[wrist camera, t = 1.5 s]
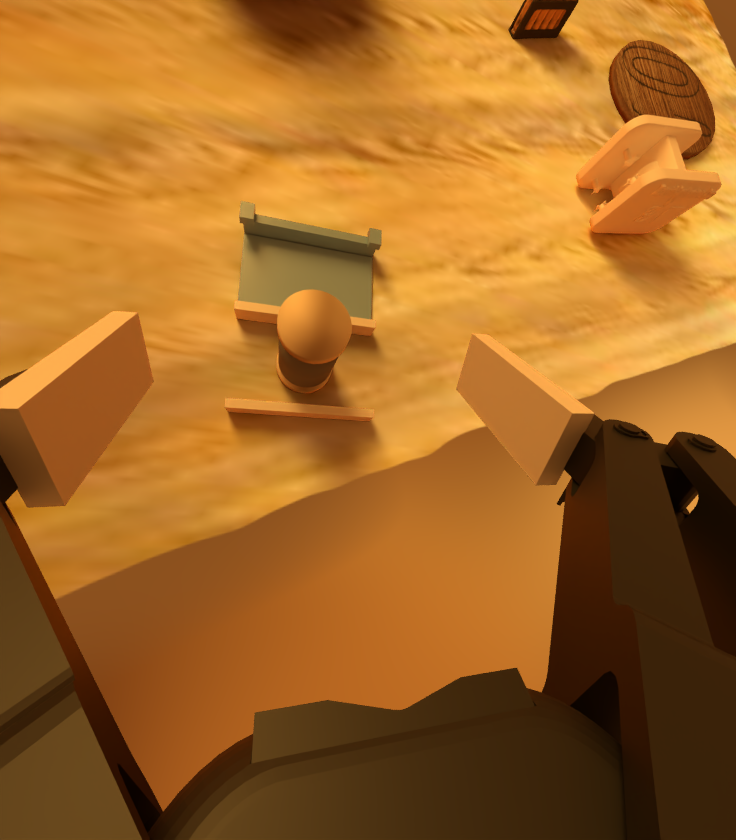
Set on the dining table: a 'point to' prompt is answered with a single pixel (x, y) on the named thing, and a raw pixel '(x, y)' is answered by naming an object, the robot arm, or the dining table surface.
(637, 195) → the cable organizer
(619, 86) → the trivet
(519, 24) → the ammunition clip
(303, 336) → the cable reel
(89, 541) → the dining table surface
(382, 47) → the dining table surface
